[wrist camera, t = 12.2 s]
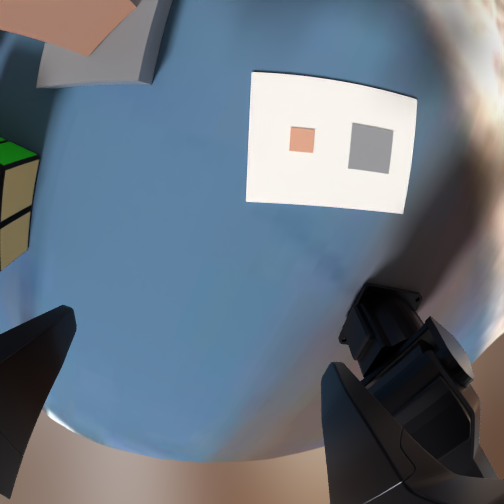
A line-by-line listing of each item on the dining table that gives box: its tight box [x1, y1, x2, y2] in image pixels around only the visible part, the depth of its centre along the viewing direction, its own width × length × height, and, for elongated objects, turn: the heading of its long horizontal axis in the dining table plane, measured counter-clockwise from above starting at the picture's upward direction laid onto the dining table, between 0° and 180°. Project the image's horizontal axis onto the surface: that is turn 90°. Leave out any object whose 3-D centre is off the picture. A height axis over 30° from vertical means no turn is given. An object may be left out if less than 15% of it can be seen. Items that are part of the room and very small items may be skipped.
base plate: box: [36, 0, 173, 89], centre depth 13 cm, size 9×9×3 cm
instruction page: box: [246, 72, 417, 214], centre depth 18 cm, size 12×9×1 cm
